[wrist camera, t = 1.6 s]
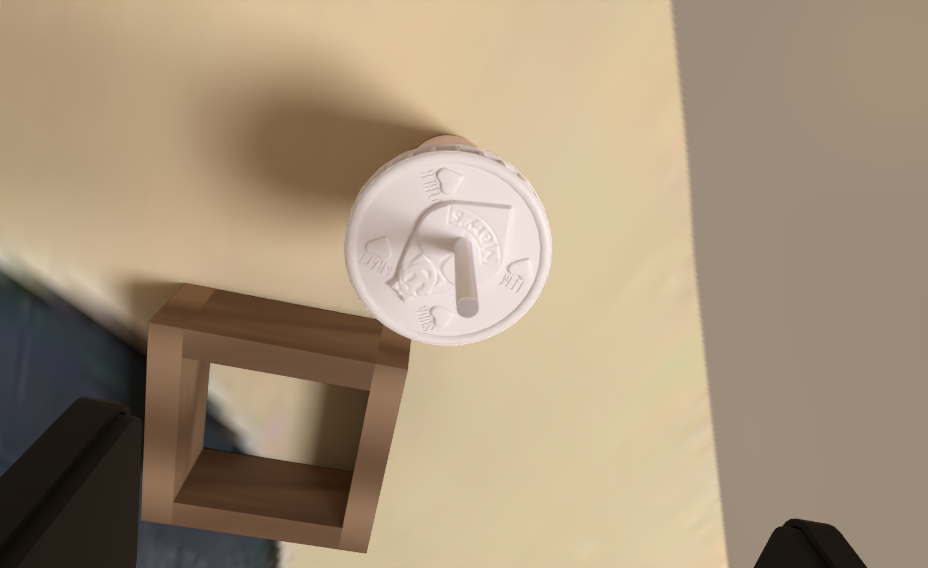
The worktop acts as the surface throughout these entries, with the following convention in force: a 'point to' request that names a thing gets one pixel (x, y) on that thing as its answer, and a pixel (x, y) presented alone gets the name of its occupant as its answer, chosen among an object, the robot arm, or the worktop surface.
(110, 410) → the robot arm
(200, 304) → the wooden frame
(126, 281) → the worktop surface
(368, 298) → the smoothie
